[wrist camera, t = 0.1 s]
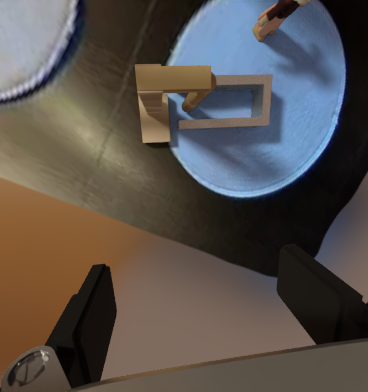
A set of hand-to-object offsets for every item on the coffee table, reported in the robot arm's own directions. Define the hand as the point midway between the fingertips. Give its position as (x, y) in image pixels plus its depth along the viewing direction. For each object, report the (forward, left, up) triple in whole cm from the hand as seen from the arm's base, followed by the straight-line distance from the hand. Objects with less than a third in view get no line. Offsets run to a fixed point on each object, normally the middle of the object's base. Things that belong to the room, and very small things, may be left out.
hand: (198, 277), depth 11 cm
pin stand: (-11, 0, -31) cm, 33 cm away
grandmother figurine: (-25, +18, -31) cm, 44 cm away
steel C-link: (-13, +10, -31) cm, 35 cm away
